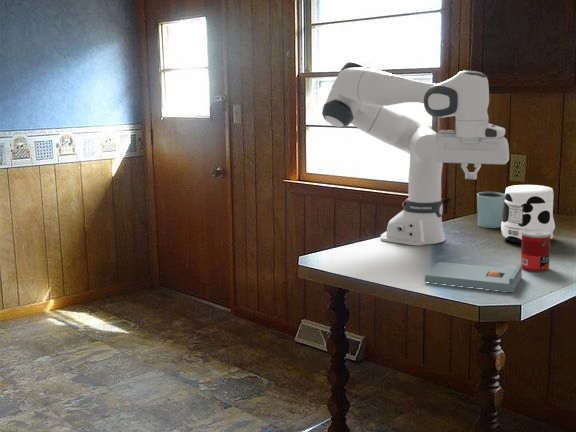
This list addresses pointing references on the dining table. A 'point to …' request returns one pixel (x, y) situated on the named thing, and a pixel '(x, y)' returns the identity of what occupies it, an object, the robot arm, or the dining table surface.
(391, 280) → the dining table surface
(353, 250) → the dining table surface
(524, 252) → the canned food
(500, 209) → the pale blue cup
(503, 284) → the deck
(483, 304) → the dining table surface
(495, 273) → the ball
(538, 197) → the milk container
